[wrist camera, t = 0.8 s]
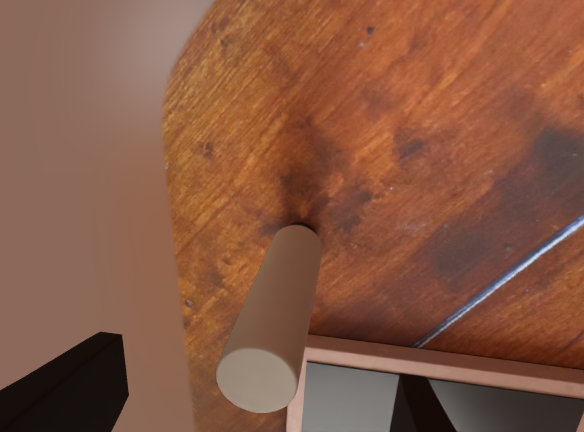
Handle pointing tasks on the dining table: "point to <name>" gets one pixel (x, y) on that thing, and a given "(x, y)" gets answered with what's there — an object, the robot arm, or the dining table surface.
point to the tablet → (445, 382)
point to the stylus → (273, 325)
